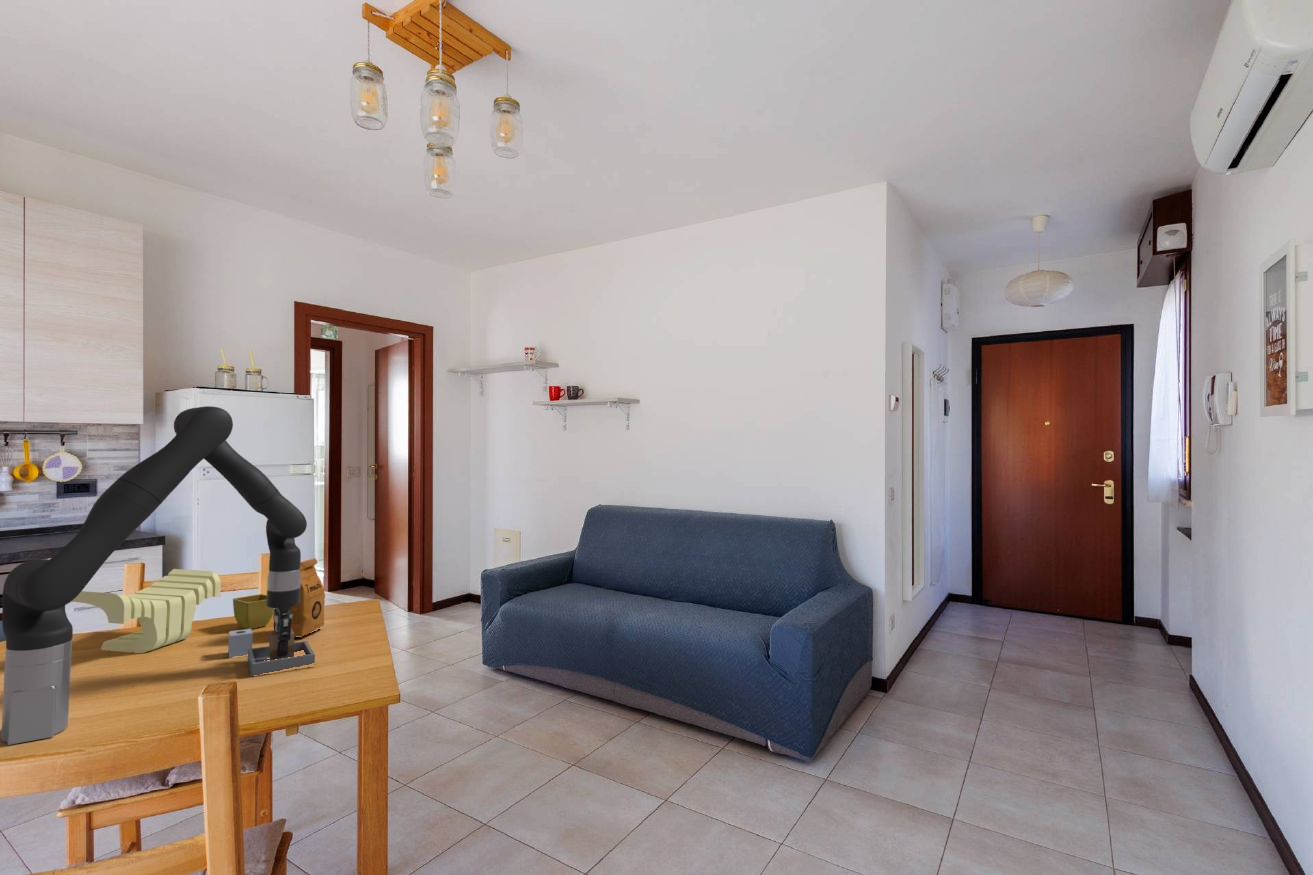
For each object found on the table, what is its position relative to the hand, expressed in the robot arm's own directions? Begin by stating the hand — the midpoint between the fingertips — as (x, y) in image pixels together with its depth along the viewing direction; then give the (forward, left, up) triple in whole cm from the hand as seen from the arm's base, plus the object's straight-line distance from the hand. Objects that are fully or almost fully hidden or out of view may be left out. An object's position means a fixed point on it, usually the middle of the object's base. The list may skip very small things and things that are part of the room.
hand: (281, 652), depth 162 cm
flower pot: (+41, +3, -3) cm, 41 cm away
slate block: (+14, +8, -3) cm, 16 cm away
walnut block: (0, 0, -1) cm, 1 cm away
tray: (0, 0, -3) cm, 3 cm away
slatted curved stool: (+36, +28, -3) cm, 46 cm away
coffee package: (+26, -8, -3) cm, 27 cm away
